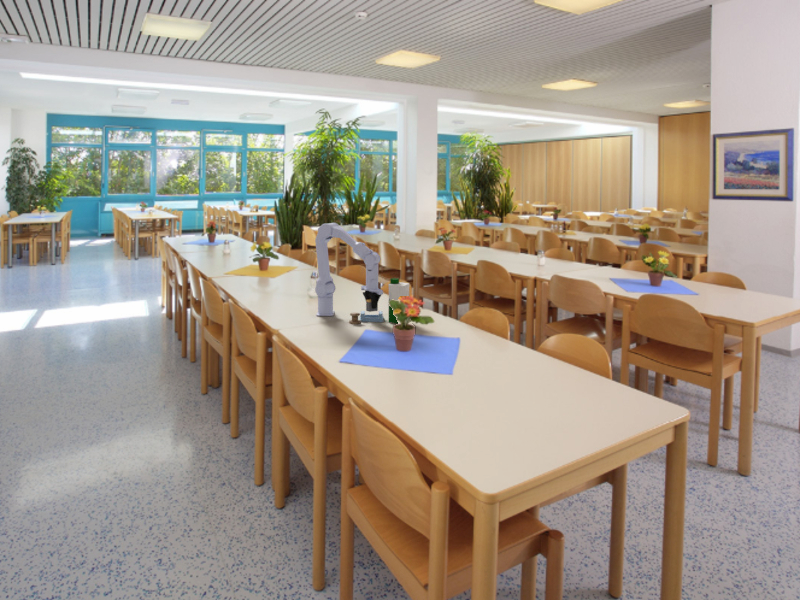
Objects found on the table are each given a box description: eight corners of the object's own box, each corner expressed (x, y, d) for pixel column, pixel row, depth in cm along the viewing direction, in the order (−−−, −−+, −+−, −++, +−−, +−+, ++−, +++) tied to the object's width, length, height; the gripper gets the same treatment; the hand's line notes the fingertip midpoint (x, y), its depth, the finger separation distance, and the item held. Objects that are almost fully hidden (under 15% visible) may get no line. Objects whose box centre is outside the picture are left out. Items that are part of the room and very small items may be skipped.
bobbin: (349, 321, 260) (349, 312, 260) (360, 321, 261) (360, 312, 260) (348, 323, 255) (348, 314, 255) (360, 324, 256) (360, 315, 255)
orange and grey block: (366, 310, 264) (366, 299, 263) (374, 309, 266) (374, 298, 265) (369, 311, 261) (369, 300, 260) (377, 310, 264) (377, 299, 263)
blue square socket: (360, 317, 269) (360, 310, 268) (383, 317, 269) (383, 310, 269) (359, 321, 260) (359, 314, 259) (383, 321, 260) (383, 314, 260)
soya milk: (392, 318, 267) (393, 277, 263) (410, 320, 264) (411, 278, 260) (386, 322, 259) (386, 279, 255) (404, 324, 256) (405, 281, 252)
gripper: (356, 277, 264) (355, 305, 267) (374, 281, 253) (374, 311, 255) (368, 276, 268) (368, 304, 271) (386, 280, 257) (386, 309, 260)
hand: (371, 307), depth 263 cm, fingers closed on orange and grey block, 3 cm apart
